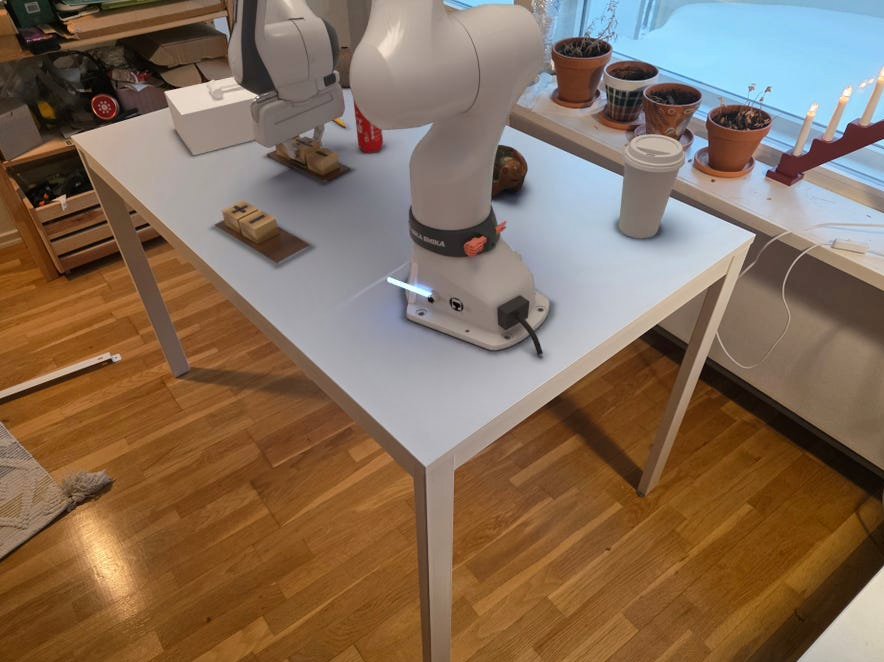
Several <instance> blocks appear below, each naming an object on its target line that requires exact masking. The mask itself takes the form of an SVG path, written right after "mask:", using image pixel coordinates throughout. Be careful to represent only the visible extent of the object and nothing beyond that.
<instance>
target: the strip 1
mask: <svg viewBox="0 0 884 662" xmlns="http://www.w3.org/2000/svg"><path fill="white" fill-rule="evenodd" d="M221 213H222V216H223V220H221V221H219V222H217V223H215V224H214V226H215V227H216V228H218V229H219V230H221V231H223V232H225V233H226V234H228V235H229V236H231V237H233V238H235V239H236V240H238V241H239V242H241V243H243V244H245V245H246V246H248V247H249V248H251V249H253V250H254V251H256V252H258V253H259V254H261V255H263V256H265V257H266V258H268V259H269V260H271V261H272V262H274V263H276V264H279V263H280V262H282V261H284V260H287V258H290V257H291V256H293V255H294V254H296V253H298V252H301V251H302V250H303V249H305V248H307V247H309V246H311V244H310V243H308V242H306V241H304V240H302V239H301V238H299V237H298V236H296V235H294V234H292V233H290V232H289V231H287V230H285V229H283V228H282V227H279V226H278V222H277V218H276V217H274V216H272V215H270V214H268V213H267V212H265V211H263V210H261V209H259V208H258V207H256V206H253V205H252V204H251V203H248V202H247V201H244V199H243V200H240V201H238V202H236V203H234V204H232V205H230V206H228V207H226V208H224V209H222V210H221Z"/></svg>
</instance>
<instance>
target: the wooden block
mask: <svg viewBox="0 0 884 662" xmlns="http://www.w3.org/2000/svg"><path fill="white" fill-rule="evenodd" d="M311 138H312V137H309V136H307V135H305V136H303V137H301V138H300V139H295V140H296V141H294V142H293V143H291V145H292V146H293V147H295V148H297V149H299V155H300V156H299V157H297V158H295V160H297V161H299V162H301V163H303V164H307V160H306V154H309V153H311V152H313V151H315V150H317V149H319V148H322V146H320V142H318V141H316V140H313V139H311Z"/></svg>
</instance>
